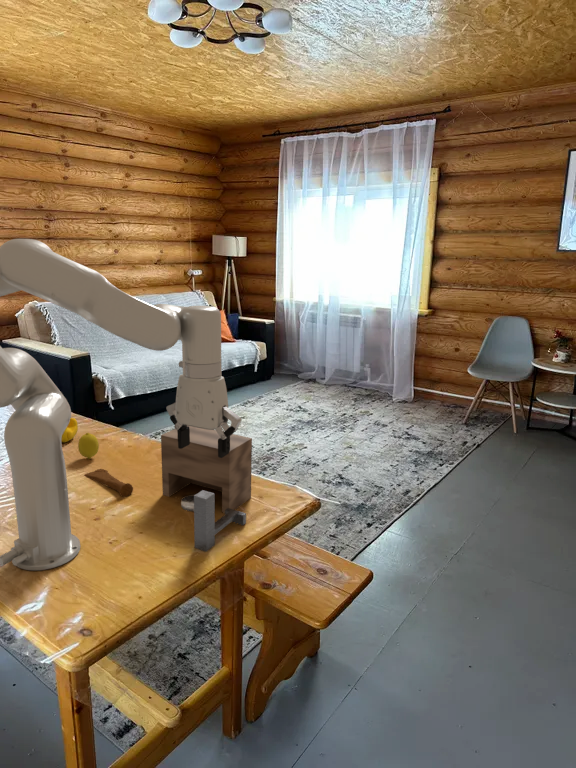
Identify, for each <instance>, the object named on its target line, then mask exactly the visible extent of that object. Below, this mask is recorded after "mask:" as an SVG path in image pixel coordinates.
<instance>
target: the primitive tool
mask: <svg viewBox="0 0 576 768" xmlns="http://www.w3.org/2000/svg"><path fill="white" fill-rule="evenodd" d="M84 476H85V477H87V478H89V479H91V480H93V481H96V482H97V483H99V484H101V485H104V486H106V487H108V488H110V489H113V490H115V491H116V492H118V493H119V494H120V496H121V497H122V498H125V497H129V496H131V495H132V493H133V491H134V486H133V485H132V484H131V483H127V482H126V483H125V482H123V481H120V480H119V479H118V478H116V477H115V476H113V475H112V474H110V473H109V472H108V470H106V469H103V468H99V469H96V470H94V471H91V472H87V473H85V474H84Z"/></svg>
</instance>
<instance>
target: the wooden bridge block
mask: <svg viewBox="0 0 576 768" xmlns="http://www.w3.org/2000/svg"><path fill="white" fill-rule="evenodd" d="M189 428H190V444H189V445H188V446H186V447H184V448H182V449H179V448H178V435H177V430H176V429H175V428H174V429H172V430H169V431H167V432H165V433H163V434H161V435H160V443H161V444H160V446H161V448H160V450H161V451H160V452H161V455H160V456H161V482H162V483H161V484H162V488H161V489H162V495H163V496H166V497H171V496H172V495H174V494H175V493H177V492H179V491H181V490H182V489H184V488H186V487H187V486H189V485H190V484H193V485H197V486H200V487H203V488H206V489H212V490H214V491H217V490H218V492H221V491H222V492H221V498H222V499H221V509H222V510H221V513H222V512H223V514H225V510H226V509H227V508H230V509H233V510H235V509H236V510H237V509H239V508H240V507H241V506H243V505H244V504H245V503H246V502H247V501H248V500H250V499H252V469H253V468H252V467H253V466H252V463H253V462H252V460H253V459H252V458H253V457H252V456H253V455H252V454H253V453H252V452H253V451H252V450H253V438H252V437H250V436H249V437H247V436H243V435H239V434H234V433H233V434H232V435H231V436H230V451H229V454H227V455H226V456H224V457H222V458H219V457H218V439H219V438H221V437H220V436H219V434H218V433H217V431H216V430H207V429H202V428H197V427H192V426H189ZM243 503H244V504H243ZM239 506H240V507H239Z"/></svg>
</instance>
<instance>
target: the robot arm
mask: <svg viewBox="0 0 576 768" xmlns="http://www.w3.org/2000/svg"><path fill="white" fill-rule="evenodd" d="M20 291H22V292H25V293H27V294H30V295H33V296H34V297H37V298H40V299H42V300H44V301H46V302H49V303H52V304H54V305H57V306H58V307H61V308H63V309H66V310H67V311H70V312H72V313H75V314H76V315H78V316H80V317H82V318H83V319H85V320H86V321H88V322H89V323H92V324H94V325H96V326H98V327H99V328H101V329H102V330H104V331H106V332H109V333H110V334H112V335H115V336H117V337H119V338H121V339H124V340H126V341H128V342H131V343H133V344H134V345H135V344H136V345H137V346H140V347H143V348H145V349H148V350H151V351H157V352H161V351H163V352H164V351H166V350H168V349H172V348H173V347H174V346H175V345H176V344H177V343H178V341H181V348H182V350H181V351H182V358H181V359H182V360H180V361H179V362H178V367H179V368H181V369H182V374H179V377H178V382H177V387H176V395H175V402H173V403H172V404H169V405H167V406H166V412H167V413H168V415H169V420H170V421H171V423H172V424H173V425H174V429H176V430H177V435H178V448H179V449H182V448H184V447H186V446H188V445H189V444H190V428H189V426H192V427H197V428H202V429H207V430H216V431H217V433H218V434H219V436H220V437H221V438H219V439H218V457H219V458H222V457H224V456H226V455H227V454H229V451H230V436H231V435H232V434H234V433H235V432H236V431H238V430H239V427H240V425H241V423H242V422H243V421H242V420H243V419H242V417H240V416H239V415H238V414H236V413H235V412H234V411H232V410H231V409H230V408H229V398H228V389H227V385H226V381H225V377H224V376H222V314H221V311H220V309H218V307H216V306H211V305H191V306H190V305H189V306H183V305H182V306H181V305H174V304H167V303H156V304H153V305H152V304H149V303H148V302H145V301H143V300H140V299H138V298H136V297H135V296H132V295H130V294H129V293H126V292H124V291H123V290H121V289H119V288H118V287H116V286H115V285H114V284H112V283H111V282H110V281H109V280H108V279H107V278H106V277H105V276H104V275H102V274H101V273H100V272H98V271H97V270H95V269H92V268H90V267H87V266H86V265H83V264H82V263H78V262H76V261H74V260H72V259H70V258H67V257H66V256H63V255H61V254H59V253H57V252H54V251H53V250H52V249H51V247H49V246H48V245H47V244H46V243H45V242H42V241H40V240H38V239H34V238H33V239H32V238H13V239H10V240H7V241H6V242H4V243H2V244H1V245H0V297H4V296H7V295H11V294H13V293H17V292H20ZM8 406H12V408H13V409H14V412H13V413H12V414H11V415H10V416H9V418H8V420H7V422H6V424H5V427H4V431H3V432H4V433H3V442H4V446H5V451H6V453H7V456H8V461H9V464H10V465H9V466H10V470H11V478H12V486H13V487H12V488H13V495H14V503H15V512H16V521H17V531H18V538H16V539H15V540H14V541H13V543H14V544H13V545H14V546H12V547H11V548H10V550H9V551H8V552H6V551H5V552H4V553H3V554H1V555H0V567H3V566H5V565H7V564H9V563H11V562H12V563H11V564H12V565H13V566H15V567H17V568H19V569H22V570H26V571H33V572H34V571H45V570H50V569H54V568H58V567H60V566H62V565H64V564H66V563H68V562H70V561H72V560H73V559H74V558H75V557H76V556H77V555H78V554H79V553H80V550H81V541H80V539H79V538H78V536H76V535H75V534H72V528H71V527H72V526H71V514H70V502H69V491H68V490H69V487H68V478H67V469H66V461H65V455H64V451H63V446H62V445H63V444H62V442H61V438H62V435H63V433H64V431H65V429H66V428H67V426H68V424H69V422H70V419H71V418H72V410H71V406H70V404H69V402H68V399H67V398H66V397H65V396H64V394H63V392H62V391H60V389H59V388H58V386H57V385H56V384H55V383H54V381H53V380H52V379H51V378H50V376H49V375H48V373H46V370H44V369H43V367H42V366H41V365H40V363H39V362H38V361H37V360H36V358H34V357H33V356H32V355H30V354H29V353H28V352H27V351H24V350H22V349H20V348H15V347H2V346H1V345H0V408H1V409H2V408H5V407H8ZM229 421H230V422H231V423H230V425H228V422H229Z"/></svg>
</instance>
